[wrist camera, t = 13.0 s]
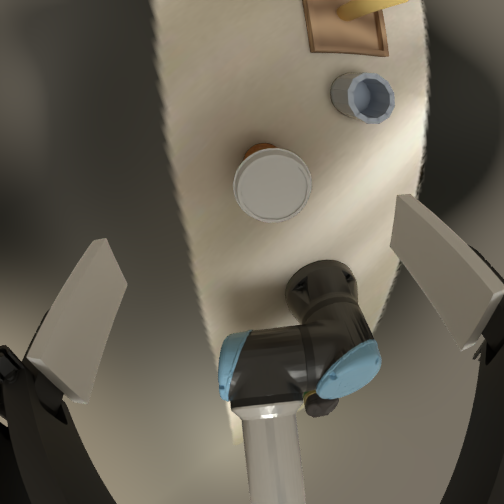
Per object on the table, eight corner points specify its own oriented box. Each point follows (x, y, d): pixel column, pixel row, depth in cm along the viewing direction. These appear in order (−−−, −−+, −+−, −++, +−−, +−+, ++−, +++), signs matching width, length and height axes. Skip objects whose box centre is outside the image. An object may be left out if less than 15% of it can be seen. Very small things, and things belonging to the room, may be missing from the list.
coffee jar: (320, 359, 73) (335, 416, 57) (293, 363, 72) (304, 421, 57) (326, 339, 67) (344, 401, 52) (296, 343, 67) (309, 407, 52)
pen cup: (372, 116, 37) (394, 124, 31) (332, 117, 37) (349, 123, 31) (370, 74, 33) (393, 75, 27) (328, 73, 33) (346, 71, 27)
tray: (381, 56, 31) (388, 56, 29) (310, 52, 31) (315, 50, 29) (369, -15, 23) (376, -19, 21) (297, -24, 23) (300, -29, 21)
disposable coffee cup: (285, 126, 38) (305, 141, 28) (299, 181, 43) (320, 214, 33) (224, 143, 39) (221, 164, 29) (243, 197, 44) (247, 235, 34)
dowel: (354, 22, 27) (411, 5, 15) (337, 20, 27) (390, -1, 15) (352, 7, 26) (406, -15, 13) (335, 5, 26) (385, -22, 13)
